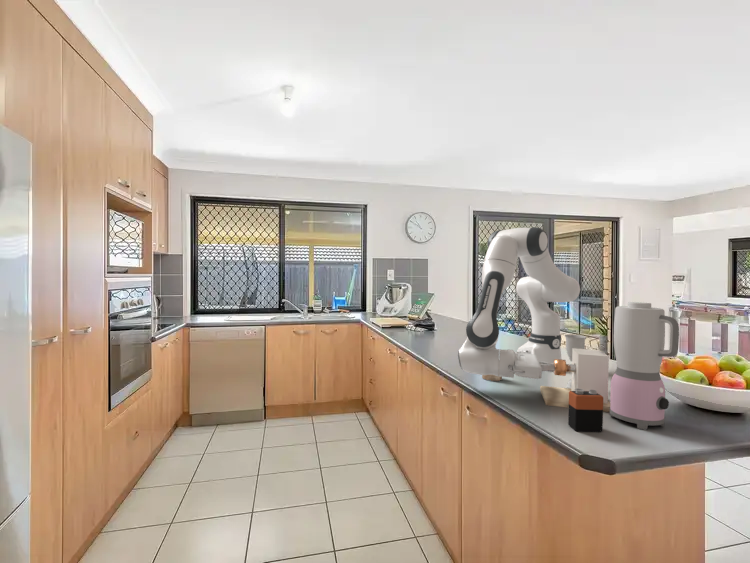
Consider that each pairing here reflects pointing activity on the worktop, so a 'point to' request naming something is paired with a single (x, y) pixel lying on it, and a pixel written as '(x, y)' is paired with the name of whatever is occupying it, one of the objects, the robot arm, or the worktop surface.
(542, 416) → the worktop surface
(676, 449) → the worktop surface
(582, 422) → the battery
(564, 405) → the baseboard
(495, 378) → the figurine
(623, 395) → the blender
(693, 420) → the worktop surface
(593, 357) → the switch box
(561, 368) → the knob
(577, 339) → the chalice
